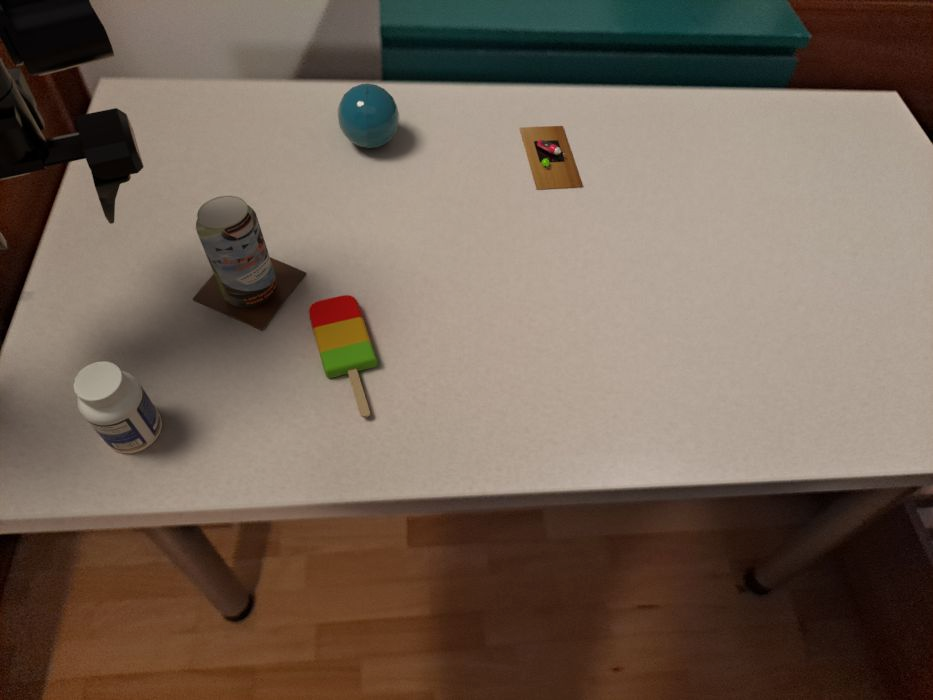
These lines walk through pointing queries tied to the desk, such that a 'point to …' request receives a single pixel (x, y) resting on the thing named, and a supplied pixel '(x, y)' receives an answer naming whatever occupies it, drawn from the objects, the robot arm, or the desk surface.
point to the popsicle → (343, 342)
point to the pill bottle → (117, 407)
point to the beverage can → (236, 251)
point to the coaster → (258, 313)
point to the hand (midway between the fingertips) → (59, 232)
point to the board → (550, 157)
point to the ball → (368, 116)
